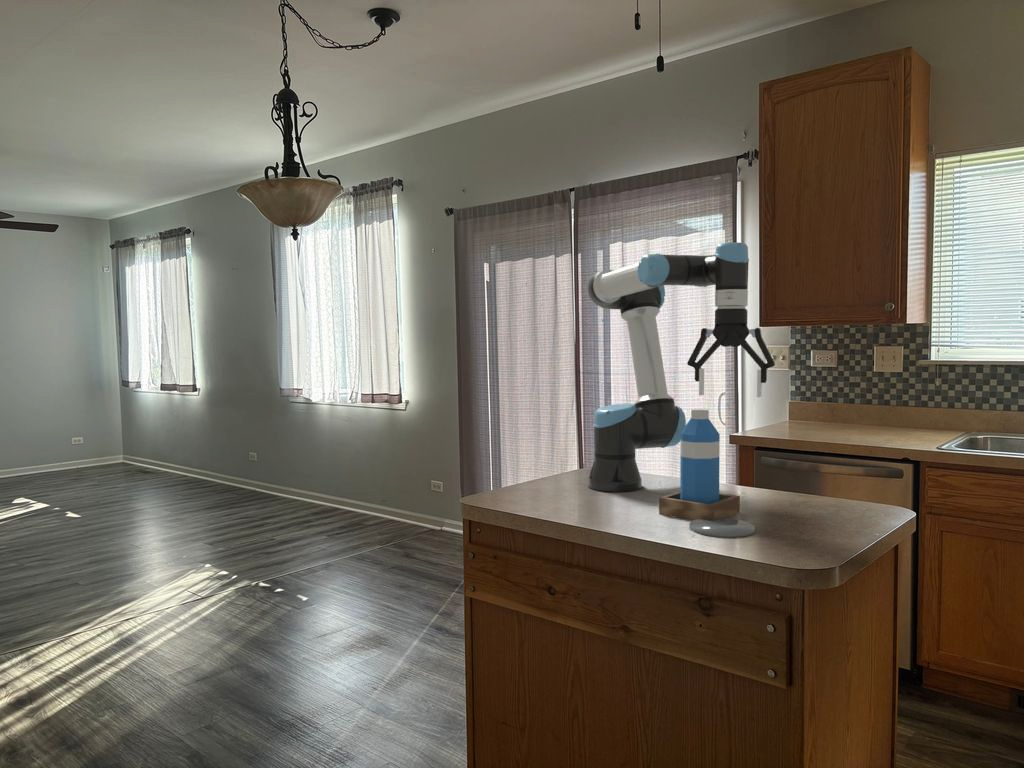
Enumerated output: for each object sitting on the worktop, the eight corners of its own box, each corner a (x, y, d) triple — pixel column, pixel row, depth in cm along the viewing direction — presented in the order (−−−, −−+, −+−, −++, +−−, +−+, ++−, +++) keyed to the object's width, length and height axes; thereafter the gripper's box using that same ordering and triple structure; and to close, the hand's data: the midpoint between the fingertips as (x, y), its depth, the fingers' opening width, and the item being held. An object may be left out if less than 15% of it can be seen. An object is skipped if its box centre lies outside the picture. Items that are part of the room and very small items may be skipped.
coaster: (677, 529, 162) (677, 526, 162) (708, 518, 172) (708, 514, 172) (736, 541, 152) (736, 537, 152) (766, 528, 162) (766, 524, 162)
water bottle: (675, 515, 175) (675, 411, 173) (685, 507, 183) (685, 407, 182) (714, 519, 170) (715, 412, 169) (723, 511, 179) (723, 409, 177)
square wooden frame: (659, 513, 176) (659, 497, 176) (688, 504, 187) (688, 488, 186) (711, 523, 167) (711, 506, 167) (739, 512, 177) (739, 496, 177)
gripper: (675, 308, 178) (675, 395, 180) (785, 306, 168) (783, 398, 169) (682, 309, 185) (681, 393, 186) (787, 307, 174) (785, 396, 176)
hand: (729, 396), depth 178 cm, fingers open, 13 cm apart
